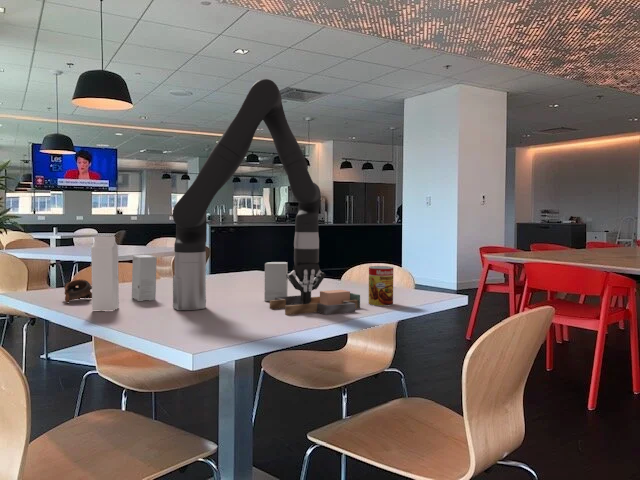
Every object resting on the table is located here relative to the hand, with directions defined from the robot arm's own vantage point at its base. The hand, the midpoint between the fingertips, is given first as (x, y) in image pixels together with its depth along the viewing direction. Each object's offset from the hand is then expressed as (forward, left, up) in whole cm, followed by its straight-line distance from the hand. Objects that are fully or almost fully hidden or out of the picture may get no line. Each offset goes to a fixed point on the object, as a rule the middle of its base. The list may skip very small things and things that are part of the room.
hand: (305, 303), depth 157 cm
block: (+10, -1, -2) cm, 10 cm away
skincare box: (-40, +42, -2) cm, 58 cm away
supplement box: (-1, +20, -2) cm, 21 cm away
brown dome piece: (-60, +48, -2) cm, 77 cm away
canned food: (+25, -4, -2) cm, 26 cm away
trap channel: (+2, -1, -2) cm, 3 cm away
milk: (-54, +26, -2) cm, 60 cm away
